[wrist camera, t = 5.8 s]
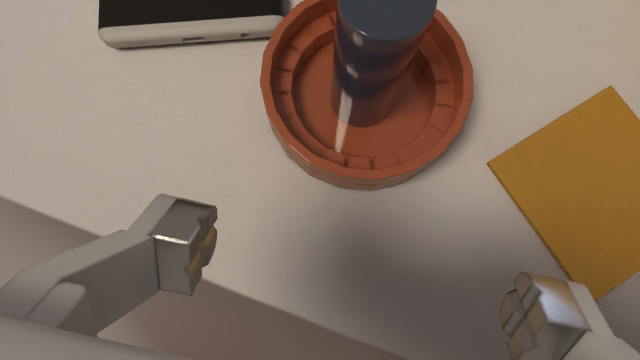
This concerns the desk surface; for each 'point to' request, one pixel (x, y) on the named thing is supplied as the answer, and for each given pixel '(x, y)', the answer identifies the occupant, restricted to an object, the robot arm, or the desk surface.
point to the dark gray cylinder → (374, 55)
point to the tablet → (185, 21)
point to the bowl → (362, 142)
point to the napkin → (582, 190)
